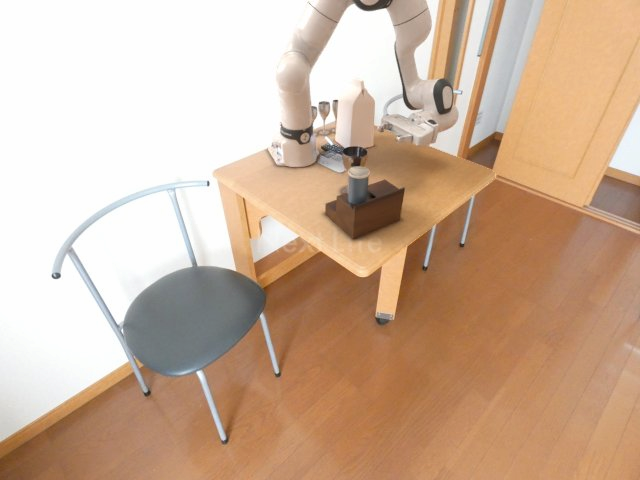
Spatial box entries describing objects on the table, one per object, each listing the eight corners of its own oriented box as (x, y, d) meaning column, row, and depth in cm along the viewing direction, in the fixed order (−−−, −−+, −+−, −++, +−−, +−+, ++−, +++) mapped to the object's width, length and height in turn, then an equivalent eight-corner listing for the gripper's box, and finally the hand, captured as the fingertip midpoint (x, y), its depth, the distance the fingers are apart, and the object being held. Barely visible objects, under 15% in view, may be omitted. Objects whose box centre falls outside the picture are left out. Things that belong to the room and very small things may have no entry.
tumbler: (342, 197, 107) (344, 169, 101) (359, 191, 109) (361, 164, 103) (354, 207, 103) (356, 178, 97) (371, 201, 105) (374, 173, 99)
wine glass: (362, 199, 124) (366, 158, 114) (339, 196, 125) (340, 156, 116) (365, 187, 130) (368, 147, 120) (342, 184, 131) (344, 145, 122)
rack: (325, 213, 118) (325, 182, 110) (370, 197, 125) (373, 166, 117) (352, 239, 108) (355, 206, 100) (400, 219, 115) (405, 188, 108)
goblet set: (309, 138, 161) (308, 107, 153) (305, 133, 165) (304, 103, 157) (366, 128, 169) (369, 98, 161) (360, 123, 174) (362, 94, 165)
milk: (335, 140, 159) (336, 77, 143) (357, 135, 163) (361, 73, 147) (349, 151, 151) (353, 85, 134) (373, 145, 155) (379, 81, 139)
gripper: (399, 107, 132) (369, 115, 126) (442, 126, 118) (410, 136, 113) (397, 124, 136) (367, 132, 130) (438, 144, 122) (407, 155, 117)
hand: (387, 134), depth 121 cm, fingers open, 8 cm apart
